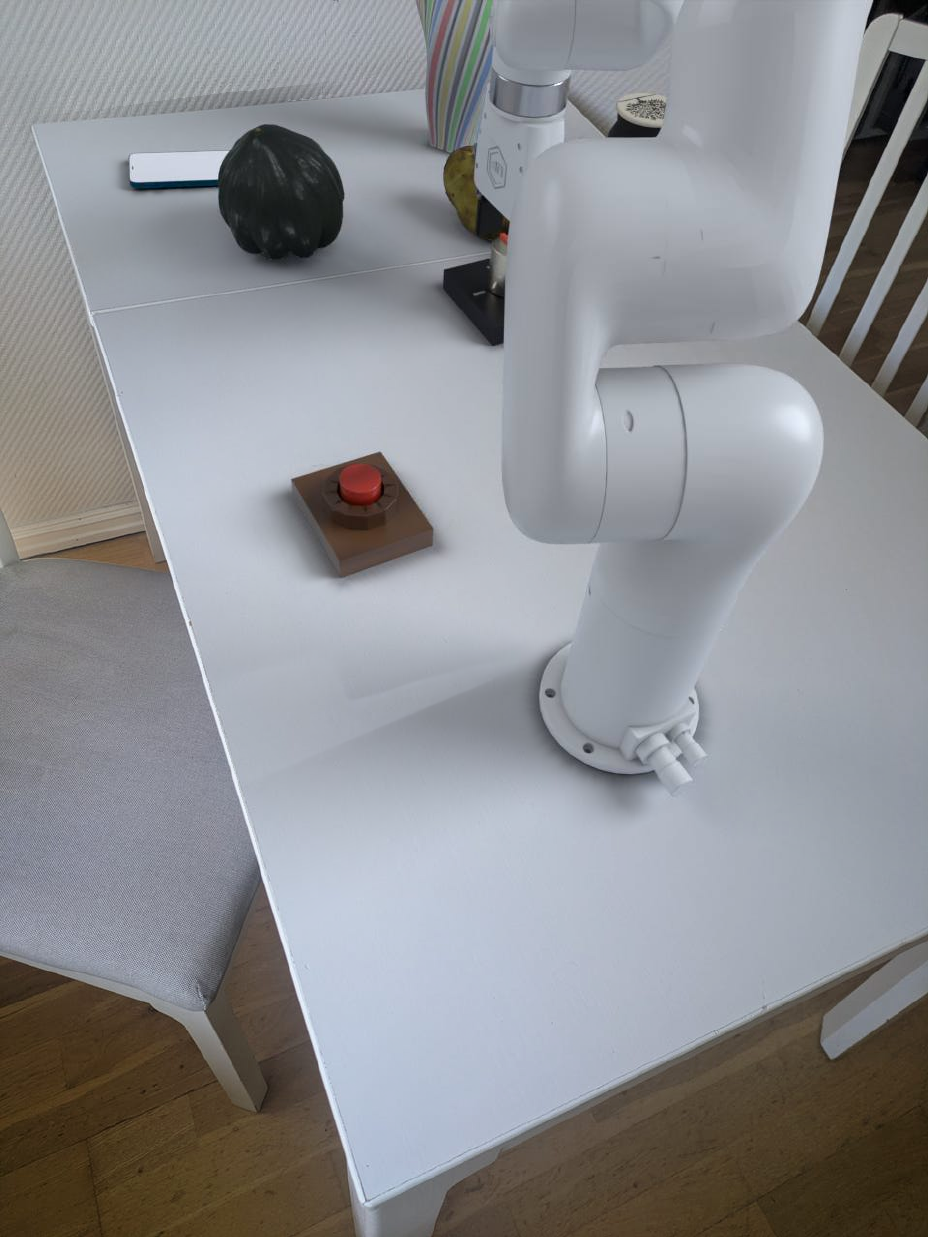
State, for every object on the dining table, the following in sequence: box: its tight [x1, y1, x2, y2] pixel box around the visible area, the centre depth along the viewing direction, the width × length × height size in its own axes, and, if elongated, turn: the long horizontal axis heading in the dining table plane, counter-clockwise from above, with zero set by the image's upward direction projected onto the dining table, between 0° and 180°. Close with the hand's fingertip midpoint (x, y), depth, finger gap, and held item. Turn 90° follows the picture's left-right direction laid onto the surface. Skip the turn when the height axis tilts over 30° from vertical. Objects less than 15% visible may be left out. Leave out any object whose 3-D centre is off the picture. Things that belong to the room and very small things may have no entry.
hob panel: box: [442, 257, 505, 347], centre depth 104 cm, size 12×10×3 cm
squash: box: [217, 123, 345, 261], centre depth 105 cm, size 14×15×15 cm
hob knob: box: [488, 233, 508, 297], centre depth 101 cm, size 4×4×5 cm
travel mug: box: [607, 92, 667, 138], centre depth 105 cm, size 8×8×18 cm
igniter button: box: [339, 464, 381, 506], centre depth 79 cm, size 4×4×2 cm
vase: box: [415, 0, 493, 154], centre depth 116 cm, size 14×14×30 cm
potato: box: [442, 146, 510, 241], centre depth 112 cm, size 8×13×8 cm, turn 15°
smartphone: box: [128, 149, 231, 189], centre depth 118 cm, size 8×1×16 cm
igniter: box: [290, 451, 435, 578], centre depth 81 cm, size 11×9×4 cm
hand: (510, 254), depth 100 cm, fingers open, 9 cm apart
